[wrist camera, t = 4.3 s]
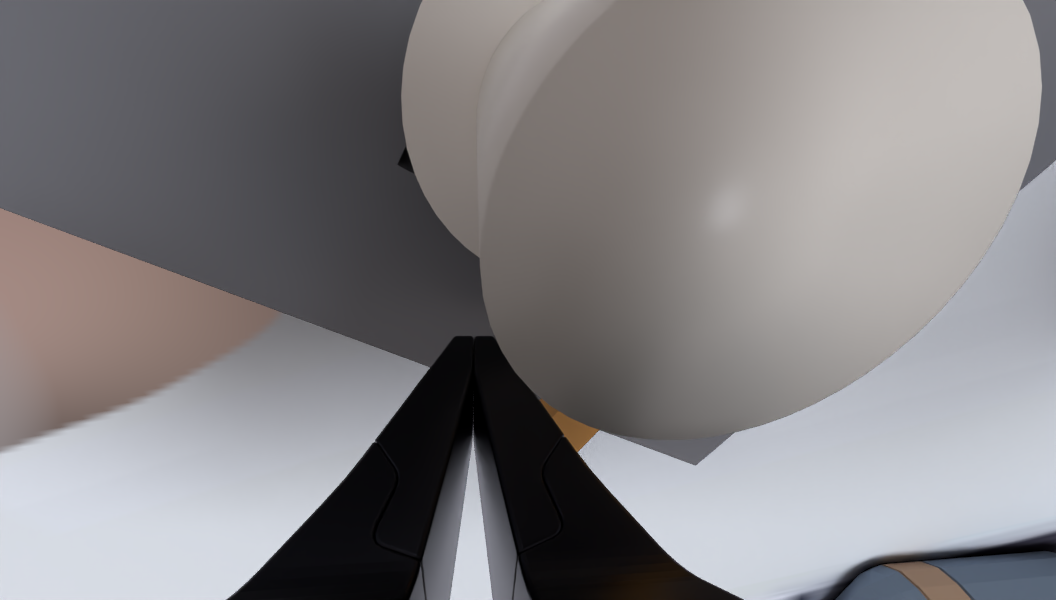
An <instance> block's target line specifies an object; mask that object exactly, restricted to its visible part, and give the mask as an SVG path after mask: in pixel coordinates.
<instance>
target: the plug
mask: <svg viewBox="0 0 1056 600" xmlns="http://www.w3.org/2000/svg"><path fill="white" fill-rule="evenodd" d="M1041 93H1042V80H1041V65H1040V51H1039V47H1038V43H1037V39H1036V35H1035V31H1034V27H1033V24H1032V20H1031V16H1030V13H1029V11H1028V9H1027V7H1026V5H1025V3H1024V1H1023V0H422V2H421V4H420V7H419V10H418V12H417V15H416V18H415V21H414V24H413V27H412V30H411V33H410V36H409V41H408V45H407V50H406V55H405V60H404V65H403V77H402V90H401V103H402V122H403V129H404V134H405V140H406V146H407V151H408V154H409V157H410V160H411V163H412V167H413V170H414V173H415V176H416V178H417V180H418V182H419V184H420V187H421V189H422V191H423V193H424V196H425V197H426V199H427V200H428V202H429V204H430V205H431V207H432V209H433V210H434V212H435V214H436V215H437V217H438V218H439V219H440V220H441V222H442V223H443V224H444V225H445V226H446V228H447V229H448V230H449V231H450V233H451V234H452V235H453V236H454V237H455V238H456V239H457V240H459V241H460V242H461V243H462V244H463V245H464V246H465V247H466V248H467V249H468V250H470V251H471V252H472V253H474V254H475V255H476V256H478V257H479V258H480V273H481V282H482V292H483V299H484V303H485V307H486V311H487V315H488V319H489V322H490V326H491V328H492V331H493V333H494V335H495V337H496V340H497V342H498V344H499V347H500V349H501V351H502V353H503V354H504V356H505V357H506V359H507V360H508V362H509V363H510V365H511V367H512V368H513V370H514V371H515V373H516V374H517V375H518V376H519V377H520V378H521V379H522V380H523V382H524V383H525V384H526V385H527V386H528V387H529V388H530V389H531V390H532V391H533V392H534V393H535V394H536V395H538V396H539V397H540V398H541V399H542V400H544V401H545V402H546V403H547V404H549V405H550V406H551V407H553V408H555V409H556V410H558V411H559V412H561V413H563V414H564V415H566V416H568V417H569V418H571V419H574V420H576V421H578V422H580V423H583V424H585V425H587V426H589V427H592V428H595V429H599V430H602V431H605V432H609V433H612V434H616V435H622V436H627V437H633V438H639V439H652V440H688V439H697V438H706V437H714V436H719V435H724V434H729V433H734V432H739V431H742V430H746V429H749V428H753V427H757V426H760V425H764V424H766V423H769V422H772V421H775V420H777V419H780V418H783V417H786V416H788V415H791V414H793V413H795V412H797V411H800V410H802V409H804V408H806V407H809V406H811V405H813V404H815V403H817V402H819V401H821V400H823V399H825V398H827V397H828V396H830V395H832V394H834V393H836V392H838V391H840V390H841V389H843V388H845V387H846V386H848V385H849V384H851V383H853V382H854V381H856V380H857V379H859V378H860V377H862V376H864V375H865V374H867V373H868V372H869V371H871V370H872V369H874V368H875V367H876V366H878V365H879V364H880V363H882V362H883V361H885V360H886V359H887V358H889V357H890V356H891V355H893V354H894V353H895V352H896V351H897V350H898V349H900V348H901V347H902V346H903V345H904V344H906V343H907V342H908V341H909V340H910V339H911V338H913V337H914V336H915V335H916V334H917V333H918V332H919V331H920V330H921V329H922V328H923V327H924V326H925V325H926V324H927V323H928V322H929V321H930V320H931V319H933V318H934V317H935V316H936V315H937V314H938V313H939V312H940V311H941V309H942V308H943V307H944V306H945V305H946V304H947V303H948V301H949V300H950V299H951V298H952V297H953V296H954V295H955V293H956V292H957V291H958V290H959V289H960V288H961V287H962V285H963V284H964V283H965V281H966V280H967V279H968V277H969V276H970V275H971V273H972V272H973V271H974V269H975V268H976V266H977V265H978V264H979V262H980V261H981V260H982V258H983V257H984V255H985V254H986V252H987V250H988V249H989V247H990V246H991V244H992V242H993V241H994V239H995V237H996V236H997V234H998V232H999V231H1000V229H1001V228H1002V226H1003V224H1004V222H1005V220H1006V217H1007V215H1008V213H1009V211H1010V209H1011V207H1012V205H1013V203H1014V201H1015V199H1016V197H1017V195H1018V192H1019V190H1020V187H1021V184H1022V181H1023V179H1024V176H1025V173H1026V170H1027V168H1028V165H1029V162H1030V159H1031V155H1032V151H1033V146H1034V142H1035V138H1036V133H1037V129H1038V125H1039V115H1040V104H1041Z"/></svg>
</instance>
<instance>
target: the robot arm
mask: <svg viewBox="0 0 1056 600" xmlns="http://www.w3.org/2000/svg"><path fill="white" fill-rule="evenodd" d="M473 436H474V448H475V456H476V465H477V473H478V481H479V489H480V498H481V506H482V514H483V522H484V531H485V539H486V547H487V556H488V564H489V572H490V580H491V589H492V597H493V600H743V599H741V598H739V597H737V596H735V595H733V594H731V593H729V592H727V591H725V590H723V589H721V588H719V587H717V586H715V585H713V584H711V583H709V582H707V581H704V580H702V579H701V578H699V577H697V576H695V575H694V574H692V573H691V572H689V571H688V570H686V569H685V568H684V567H682V566H681V565H680V564H679V563H677V562H676V561H675V560H674V559H673V558H672V557H671V556H669V555H668V554H667V553H666V552H665V551H664V550H663V549H662V548H661V547H660V546H659V545H658V543H657V542H656V541H655V540H654V539H653V538H652V537H651V536H650V535H649V534H648V533H647V532H646V530H645V529H644V528H643V527H642V526H641V525H640V524H639V523H638V522H637V521H636V520H635V518H634V517H633V516H632V515H631V514H630V513H629V512H628V511H627V510H626V509H625V508H624V507H623V505H622V504H621V503H620V502H619V501H618V500H617V499H616V498H615V497H614V496H613V495H612V494H611V492H610V491H609V490H608V489H607V488H606V487H605V486H604V484H603V483H602V482H601V481H600V480H599V479H598V478H597V477H596V475H595V474H594V473H593V472H592V471H591V470H590V468H589V467H588V466H587V464H586V463H585V462H584V460H583V459H582V458H581V457H580V455H579V454H578V453H577V451H576V450H575V449H574V447H573V446H572V444H571V443H570V442H569V440H568V439H567V438H566V437H564V434H563V432H562V431H561V429H560V428H559V427H558V425H557V424H556V422H555V421H554V420H553V418H552V417H551V415H550V414H549V413H548V411H547V410H546V408H545V407H544V406H543V404H542V403H541V402H540V400H539V399H538V397H537V396H536V395H535V393H534V392H533V391H532V390H531V389H530V388H529V387H528V386H527V385H526V384H525V383H524V382H523V380H522V379H521V378H520V377H519V376H518V375H517V374H516V373H515V371H514V370H513V368H512V367H511V365H510V363H509V362H508V360H507V359H506V357H505V356H504V354H503V353H502V351H501V349H500V347H499V344H498V342H497V340H496V339H495V338H494V337H493V336H476V337H475V338H473V337H472V336H455V337H453V338H452V340H451V341H450V342H449V344H448V345H447V346H446V348H445V349H444V350H443V352H442V353H441V354H440V356H439V357H438V358H437V360H436V361H435V362H434V363H433V365H432V366H431V367H430V369H429V370H428V371H427V373H426V374H425V375H424V377H423V378H422V379H421V381H420V382H419V383H418V385H417V386H416V387H415V388H414V390H413V391H412V392H411V394H410V395H409V396H408V398H407V399H406V400H405V402H404V403H403V404H402V406H401V407H400V408H399V410H398V411H397V412H396V413H395V415H394V416H393V417H392V419H391V420H390V421H389V423H388V424H387V425H386V427H385V428H384V429H383V431H382V432H381V433H380V435H379V436H378V437H377V439H376V440H375V442H374V443H372V445H371V446H370V447H369V449H368V450H367V451H366V453H365V454H364V455H363V457H362V458H361V459H360V461H359V462H358V463H357V464H356V465H355V467H354V468H353V469H352V470H351V472H350V473H349V474H348V475H347V477H346V478H345V479H344V480H343V481H342V482H341V484H340V485H339V486H338V487H337V488H336V489H335V490H334V491H333V492H332V493H331V495H330V496H329V497H328V498H327V499H326V500H325V501H324V502H323V503H322V504H321V506H320V507H319V508H318V509H317V510H316V511H315V512H314V513H313V514H312V515H311V516H310V517H309V518H308V519H307V520H306V521H305V522H304V523H303V525H302V526H301V527H300V528H299V529H298V530H297V531H296V532H295V533H294V534H293V535H292V536H291V537H290V538H289V539H288V540H287V541H286V542H285V543H284V545H283V546H282V547H281V548H280V549H279V550H278V551H277V552H276V553H275V554H274V555H273V556H272V557H271V558H270V559H269V560H268V561H267V562H266V563H265V565H264V566H263V567H262V568H261V569H260V570H259V571H258V572H257V573H256V574H255V575H254V576H253V577H252V578H251V579H250V580H249V581H248V582H247V583H245V584H244V585H243V586H242V587H241V588H240V589H239V590H238V591H237V592H235V593H234V594H233V595H232V596H230V597H229V598H228V599H226V600H450V594H451V587H452V580H453V573H454V566H455V559H456V552H457V545H458V538H459V531H460V524H461V517H462V510H463V503H464V496H465V489H466V482H467V475H468V468H469V461H470V454H471V447H472V438H473Z"/></svg>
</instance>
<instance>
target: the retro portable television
mask: <svg viewBox="0 0 1056 600" xmlns="http://www.w3.org/2000/svg"><path fill="white" fill-rule="evenodd" d="M835 600H1056V553H1053V552H1049V551H1039V552H1026V553H1014V554H1002V555H990V556H978V557H966V558H954V559H941V560H929V561H921V562H920V561H917V562H905V563H893V564H883V565H879V566H876V567H873V568H870V569H868V570H866V571H864V572H863V573H861V574H859V575H858V576H857V577H856V578H855V579H854V581H853V582H852V583H851V584H850V585H849V586H848V587H847V588H846V589H845V590H844V591H843V592H842V593H841V594H840V595H839V596H838V597H837V598H836V599H835Z"/></svg>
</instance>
